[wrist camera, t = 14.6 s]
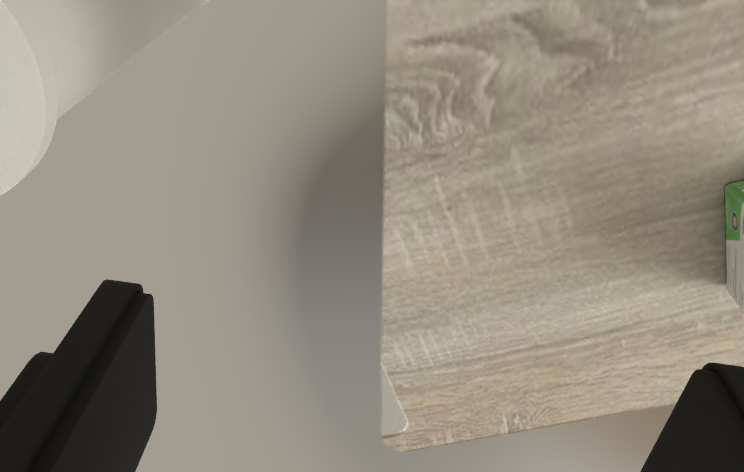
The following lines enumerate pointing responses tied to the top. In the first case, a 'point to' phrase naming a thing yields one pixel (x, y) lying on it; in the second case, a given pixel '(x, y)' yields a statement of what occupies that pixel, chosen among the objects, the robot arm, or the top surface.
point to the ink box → (735, 240)
